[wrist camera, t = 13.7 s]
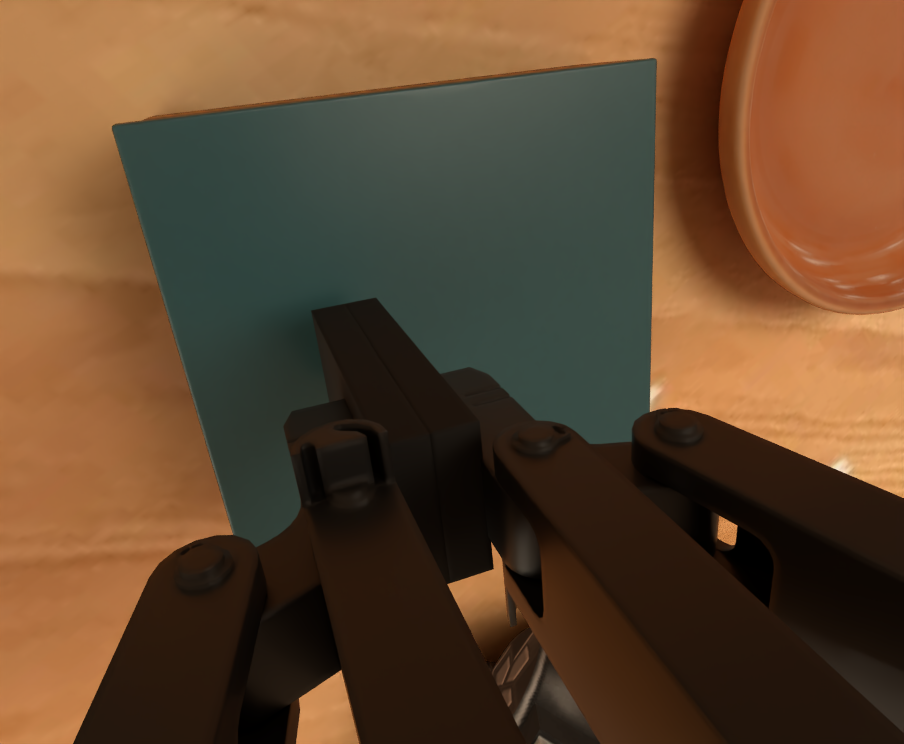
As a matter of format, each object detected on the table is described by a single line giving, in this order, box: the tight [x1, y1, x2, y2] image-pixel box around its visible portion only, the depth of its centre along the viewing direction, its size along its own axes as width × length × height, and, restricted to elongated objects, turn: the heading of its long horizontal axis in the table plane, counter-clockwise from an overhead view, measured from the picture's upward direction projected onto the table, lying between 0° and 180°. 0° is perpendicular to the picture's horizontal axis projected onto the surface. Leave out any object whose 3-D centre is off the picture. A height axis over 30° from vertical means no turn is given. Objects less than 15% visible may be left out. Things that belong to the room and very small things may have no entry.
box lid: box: [112, 58, 657, 547], centre depth 18 cm, size 13×12×1 cm
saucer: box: [718, 0, 904, 315], centre depth 23 cm, size 16×16×3 cm
